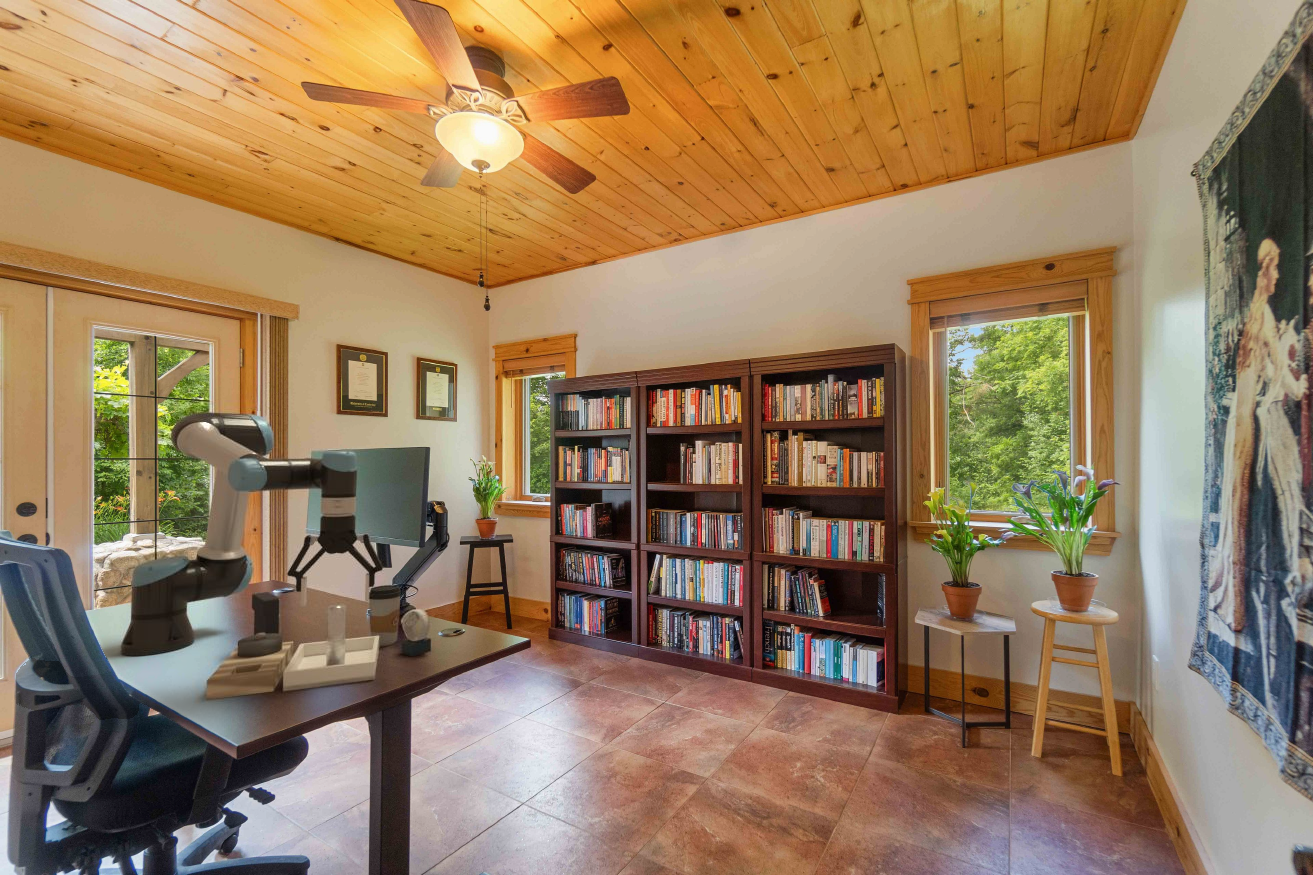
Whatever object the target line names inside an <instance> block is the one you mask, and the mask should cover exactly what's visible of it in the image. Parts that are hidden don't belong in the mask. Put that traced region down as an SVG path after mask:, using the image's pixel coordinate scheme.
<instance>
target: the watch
mask: <svg viewBox="0 0 1313 875" xmlns="http://www.w3.org/2000/svg"><path fill="white" fill-rule="evenodd" d="M420 619H421V624H422V626H421V627H420V631H419V633H418V636H417V635H416V633H415V632H414V629H413V628H414V627H415V626H416V624H417V622H418V621H419V620H420ZM400 623H401V625H402V630H403V631H404V634H405V636H406V638H407V640H404V641H401V654H402V655H404V654H405V655H404V656H408V655H409V657H412V658H413V657H415V656H419V655H418V654H420V655H422V654H421V653H423V654H425V653H424V652H426V653H428V651H429V652H431V650H432V638H428V634H429V632H430V628H431V625H430V617H429V615H428V612H426V610H424V609H423V608H418V609H411V610H409V611H408V612H406V613H405V614H404V615H403V616H402V618H401V620H400Z"/></svg>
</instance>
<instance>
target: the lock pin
mask: <svg viewBox="0 0 1313 875" xmlns="http://www.w3.org/2000/svg"><path fill="white" fill-rule="evenodd" d="M346 616H347V604H344V603H338V604H331V605H329V606H327V607H326V641H327V642H326V666H332V665H341V664H345V639H346V627H347V626H346V625H347V624H346V622H347V621H346V620H347V618H346Z"/></svg>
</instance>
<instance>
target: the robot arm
mask: <svg viewBox="0 0 1313 875" xmlns="http://www.w3.org/2000/svg"><path fill="white" fill-rule="evenodd" d="M170 441H171V443H172V445H173V447H174V448H175V449H176V450H177V451H178V452H179V453H181V454H182V455H184V456H186V457H189V458H191V459H200V460H201V461H203V462H204V463H206V464H208V465H209V466H211V467H213V468H215V469H216V471H215V475H214V476H215V477H214V483H213V489H212V490H213V491H212V497H211V504H210V510H209V514H208V522H207V529H206V533H205V534H206V536H205V541H204V546H201V547H200V548H199V549H198V550H197V552H196V556H195V557H196V558H195V559H191V560H190V559H189V557H188V556H186V555H176V556H170V557H168V556H167V557H161V558H157V559H153V560H152V559H151V560H149V561H145V562H143V563H141V564H140V563H139V565H137V566H135V568H133V571H132V578H131V581H130V586H131V597H130V598H131V599H130V600H131V601H130V602H131V604H130V623H129V625H128V628H127V629H126V632H125V635H124V637H123V640H122V642H121V644H120V654H122V655H123V656H124V655H125V656H148V655H149V656H150V655H156V654H162V653H167V652H172V651H175V650H180V649H183V648H185V647H188V646H191V645H192V644H194V642H195V632H194V629H193V627H192V624H191V622H190V619H189V616H188V604H189V603H194V602H200V601H205V600H206V601H207V600H211V599H216V598H225V597H226V598H227V597H228V596H229V597H230V596H231V595H236V594H239V593H242V592H243V591H244V590H245V589H246V588H247V587H248V586H249V584H250V582H251V580H252V577H253V570H254V567H253V566H252V565H253V560H252V558H251V557H250V555H248V554H247V550H246V549H245V548H244V547H243V546H242V544H243V537H244V530H245V524H246V516H247V510H248V506H249V499H250V495H251V494H250V493H254V492H266V491H282V490H283V491H284V490H285V491H286V490H287V491H289V490H313V489H314V490H320V491H321V492H320V493H321V494H320V497H321V498H320V514H322V516H321V517H320V518H319V519H320V520H319V521H320V522H319V524H320V528H319V535H318V536H315V535H314V536H313V535H311V534H307V535H306V536H305V537H304V540H303V545H302V548H301V549H300V551H299V553H298V554H297V556H295V557H296V558H295V559H294V560H293V563H292V565H291V566H290V567H289V569H288V571H287V573H286V574H287V577H292V578H295V580H296V581H295V591H296V593H300V608H301V607H303V608H304V607H305V606H306V605H307V587H308V576H306V573H307V572H308V571H309V570H310V569H311V568H312V567H313V566H314V565H315V563H316V562H318V561H319V559H320V558H321V557H322V556H323V555H324V554H325V553H327V554H329V555H334V554H341V555H342V554H345V553H347V552H348V553H349V554H350V555H351V556H352V557H353V558H354V559H355V560H356V561H357V562H358V563H359V564H360V565H361V566H362V567H363V568H364V569H365V570H366V571H367V572H366V573H365V584H364V585H365V586H364V587H365V588H364V589H365V590H364V592H365V593H364V602H365V603H367V602H369V592H370V588H373V587H375V578H376V573H378V572H382V571H383V568H384V566H383V564H382V562H381V560H380V558H379V556H378V554H377V553H376V551H375V549H374V547H373V545H372V543H371V542H370V541H371V540H370V533H368V532H366V533H364V534H358V535H357V534H356V520H357V519H356V516H355V513H356V512H357V510H356V509H357V485H358V484H357V482H358V481H357V480H358V469H359V468H358V464H357V463H358V462H357V461H358V458H357V454H356V453H355V452H354V451H343V450H342V451H335V450H333V451H330V450H329V451H328V450H327V451H324V452H323V453H322V457H321V458H314V457H312V458H311V457H309V458H267V457H264V456H268V455H269V454H270V453H271V451H273V448H274V432H273V428H272V427H271V425H270V422H268V420H267V419H266V418H264V417H263V416H261V415H255V414H248V413H233V412H232V413H229V412H228V413H225V412H211V411H203V412H202V411H201V412H194V413H191V414H188V415H185V416H184V417H182V418H181V419H179V420H178V421H177V422H176V423H175V424H174V426H173V427H172V429H171V433H170ZM357 541H360V543H361V544H363V545H364V547H365V550H366V551H367V553H368V555H369V557H370V559H371V561H372V563H373V564H374V566H373V565H372V564H371V563H370V562H369V561H368V560H367V559H366V558H365V556H363V555H362V554H361V553H360V552H359V550H358V549H357V548H356V546H354V544H355V543H356V542H357ZM315 542H317V543H318V544H319V545H320V547H321V548H320V549H319V550H318V551H317V553H316V554H315V555H313V557H312V558H311V559H309V561H308V562H306V564H305V565H304V566H303V567H302V568H301V570H297V569H299V566H300V564H301V563H302V561H303V559H304V558H305V556H306V554H307V552H308V551H309V549H310V547H311V546H313V545H314V544H315Z"/></svg>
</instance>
